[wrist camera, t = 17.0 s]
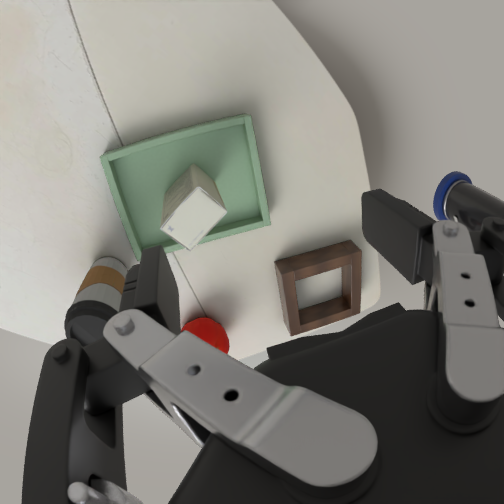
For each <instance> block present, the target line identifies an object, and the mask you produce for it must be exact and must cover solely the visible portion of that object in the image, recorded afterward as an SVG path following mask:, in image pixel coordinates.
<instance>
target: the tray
mask: <svg viewBox="0 0 504 504" xmlns="http://www.w3.org/2000/svg"><path fill="white" fill-rule="evenodd" d="M100 159H101V163H102V166H103V169H104V172H105V175H106V178H107V181H108V184H109V187H110V190H111V193H112V195H113V198H114V201H115V204H116V207H117V210H118V212H119V215H120V218H121V220H122V223H123V226H124V228H125V231H126V233H127V236H128V239H129V241H130V244H131V246H132V249H133V251H134V254H135V256H136V259H137V261H140V260H141V254H142V250H144V249H147V248H151V247H154V246H158V245H162V246H163V248H164V251H165V253H169V252H173V251H176V250H180V249H184V247H183V246H181V245H180V244H179V243H177V242H176V241H175V240H173V239H172V238H171V237H169V236H168V235H167V234H166V233H164V232H163V231H162V230H161V229H160V224H161V216H162V208H163V200H164V194H165V193H166V192H167V191H168V189H169V188H170V187H171V186H172V185H173V184H174V183H175V181H176V180H177V179H178V178H179V177H180V176H181V175H182V174H183V173H184V172H185V171H186V170H187V169H188V168H189V167H190V166H191V165H192V164H193V163H194V164H196V165H197V166H198V167H199V168H200V169H201V170H203V171H204V172H205V173H206V174H207V175H208V176H209V177H210V178H211V179H212V180H213V181H215V183H216V186H217V188H218V190H219V193H220V195H221V198H222V200H223V202H224V205H225V207H226V210H227V213H226V214H225V215H224V216H223V218H222V219H221V220H220V221H219V222H218V223H217V224H216V225H215V226H214V227H213V228H212V229H211V230H210V231H209V233H208V234H207V235H206V236H205V237H204V238H203V239H202V240H201V241H200V242H199V243H198V244H202V243H205V242H209V241H213V240H216V239H220V238H224V237H227V236H231V235H235V234H239V233H242V232H246V231H250V230H254V229H257V228H261V227H264V226H269V225H271V222H270V216H269V210H268V205H267V199H266V194H265V188H264V183H263V177H262V172H261V166H260V161H259V156H258V150H257V145H256V140H255V134H254V129H253V124H252V119H251V115H249V114H241V115H236V116H232V117H227V118H223V119H218V120H214V121H210V122H206V123H202V124H198V125H194V126H190V127H186V128H182V129H179V130H175V131H172V132H168V133H165V134H161V135H158V136H154V137H151V138H148V139H145V140H141V141H138V142H135V143H132V144H129V145H126V146H123V147H120V148H117V149H114V150H111V151H108V152H105V153H104V154H103V155H102V156H100ZM198 244H197V245H198Z"/></svg>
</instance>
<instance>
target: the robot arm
mask: <svg viewBox="0 0 504 504" xmlns="http://www.w3.org/2000/svg"><path fill="white" fill-rule="evenodd" d="M361 201H362V230H363V234H364V237H365V239H366V240H367V242H368V243H369V244H370V245H371V246H373V247H374V248H375V249H376V250H377V251H378V252H379V253H380V254H381V255H382V256H383V257H384V258H385V259H386V260H387V261H388V262H390V264H392V265H393V266H394V267H395V268H396V269H397V270H398V271H399V272H400V273H401V274H402V275H403V276H404V277H405V278H406V279H407V280H408V281H409V282H410V283H411V284H412V285H414V284H416V283H419V282H421V281H424V280H425V281H426V282H425V288H424V310H407V311H406V310H405V309H404V308H403V307H402V306H401V305H400V303H396V304H393V305H391V306H388V307H386V308H383V309H380V310H378V311H375V312H372V313H370V314H368V315H367V316H365V317H364V318H362V319H361V320H359V321H358V322H356V323H355V324H353V325H351V326H350V327H348V328H347V329H345V330H344V331H341V332H336V333H329V334H322V335H314V336H307V337H301V338H297V339H294V340H291V341H288V342H285V343H281V344H278V345H275V346H271V347H268V348H267V353H268V357H269V359H268V360H266V361H264V362H262V363H261V364H260V365H258V366H257V367H255V368H254V369H252V368H250V367H248V366H247V365H245V364H243V363H241V362H239V361H238V360H236V359H234V358H232V357H231V356H229V355H227V354H225V353H224V352H222V351H220V350H219V349H217V348H215V347H213V346H212V345H210V344H208V343H207V342H205V341H203V340H202V339H200V338H198V337H197V336H195V335H194V334H192V333H190V332H188V331H186V330H183V331H182V332H181V328H180V310H179V293H178V288H177V284H176V281H175V278H174V275H173V272H172V270H171V267H170V264H169V262H168V259H167V256H166V253H165V251H164V248H163V246H162V245H158V246H154V247H151V248H147V249H144V250H142V254H141V260H140V264H138V265H134V266H132V268H131V269H130V270H129V272H128V273H127V274H126V278H125V282H124V284H125V285H124V287H123V292H122V297H121V302H120V307H119V313H118V314H116V315H114V316H113V317H112V318H111V319H110V320H109V321H108V322H107V323H106V325H105V327H104V330H103V335H104V337H102V338H101V339H99V340H97V341H95V342H93V343H91V344H89V345H87V346H85V347H82V346H81V344H80V343H79V341H78V340H76V339H73V338H68V339H64V340H61V341H59V342H57V343H56V344H55V345H53V346H52V347H51V348H50V349H49V351H48V352H47V354H46V355H45V358H44V362H43V365H42V369H41V373H40V378H39V382H38V386H37V391H36V396H35V400H34V406H33V411H32V416H31V422H30V427H29V434H28V441H27V448H26V456H25V464H24V475H23V487H22V488H23V489H22V504H143V503H142V502H141V501H140V500H139V499H138V498H137V497H135V496H134V495H132V494H130V493H129V492H127V485H126V474H125V461H124V443H123V416H122V415H123V413H122V404H123V403H125V402H127V401H129V400H131V399H133V398H135V397H137V396H139V395H142V394H144V395H145V396H146V397H147V398H148V399H149V400H150V401H151V402H152V403H153V404H154V405H155V406H156V407H158V408H159V409H160V410H161V411H162V412H163V413H164V414H165V415H166V416H167V417H169V418H170V419H171V420H172V421H173V422H174V423H175V424H176V425H178V426H179V427H180V428H181V429H182V430H183V431H184V432H185V433H186V434H187V436H189V437H190V438H191V439H192V440H193V441H194V442H195V443H196V444H197V445H198V446H200V447H201V448H202V449H201V451H200V452H199V454H198V456H197V458H196V459H195V461H194V463H193V464H192V466H191V467H190V469H189V471H188V472H187V474H186V476H185V477H184V479H183V480H182V482H181V484H180V485H179V487H178V489H177V490H176V492H175V493H174V495H173V497H172V498H171V500H170V501H169V503H168V504H504V328H501V327H500V325H499V320H498V316H499V317H500V318H501V319H502V320H503V321H504V276H503V274H504V201H502V200H500V199H499V198H497V197H495V196H493V195H491V194H489V193H487V192H486V191H484V190H482V189H480V188H478V187H476V186H474V185H472V184H470V183H468V182H467V181H465V180H462V179H458V180H456V181H454V182H453V183H451V185H450V186H449V187H448V188H447V190H446V192H445V194H444V197H443V201H442V211H443V214H444V216H445V217H446V218H447V219H448V220H440V221H435V220H433V219H432V218H431V217H429V216H427V215H426V214H424V213H423V212H421V211H419V210H418V209H417V208H415V207H413V206H412V205H410V204H409V203H407V202H406V201H404V200H400V199H397V198H395V197H393V196H392V195H390V194H388V193H387V192H385V191H384V190H382V189H376V190H372V191H368V192H364V193H363V194H362V198H361Z"/></svg>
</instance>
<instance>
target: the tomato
mask: <svg viewBox="0 0 504 504" xmlns="http://www.w3.org/2000/svg"><path fill="white" fill-rule="evenodd" d="M183 330H186V331H188V332H190V333H192V334H194V335H195V336H197V337H198V338H200V339H202V340H203V341H205V342H207V343H208V344H210V345H212V346H213V347H215V348H217V349H219V350H220V351H222V352H224V353H225V354H227V353H228V351H229V347H230V346H229V339H228V337H227V334H226V332H225V330H224V328H223V327H222V326H221V325H220V324H219V323H216V322H215V321H214V320H212V319H210V318H207V317H203V318H197V319H195V320H193V321H191V322H189V323H186V324H185V326H184V327H183V328H182V330H181V332H182V331H183Z"/></svg>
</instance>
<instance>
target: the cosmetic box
mask: <svg viewBox="0 0 504 504" xmlns="http://www.w3.org/2000/svg"><path fill="white" fill-rule="evenodd" d="M226 213H227V210H226V207H225V205H224V202H223V200H222V198H221V195H220V193H219V190H218V188H217V186H216V183H215V181H213V180H212V179H211V178H210V177H209V176H208V175H207V174H206V173H205V172H204V171H203V170H201V169H200V168H199V167H198V166H197V165H196V164H194V163H193V164H192V165H191V166H190V167H189V168H188V169H187V170H186V171H185V172H184V173H183V174H182V175H181V176H180V177H179V178H178V179H177V180H176V181H175V183H174V184H173V185H172V186H171V187H170V188H169V189H168V191H167V192H166V193H165V194H164V200H163V208H162V216H161V224H160V229H161V230H162V231H163V232H164V233H166V234H167V235H168V236H169V237H171V238H172V239H173V240H175V241H176V242H177V243H179V244H180V245H181V246H183V247H184V248H186V249H187V250H189V251H191V250H192V249H193V248H194V247H195V246H196V245H197V244H198V243H199V242H200V241H201V240H202V239H203V238H204V237H205V236H206V235H207V234H208V233H209V231H210V230H211V229H212V228H213V227H214V226H215V225H216V224H217V223H218V222H219V221H220V220H221V219H222V218H223V216H224V215H225V214H226Z"/></svg>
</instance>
